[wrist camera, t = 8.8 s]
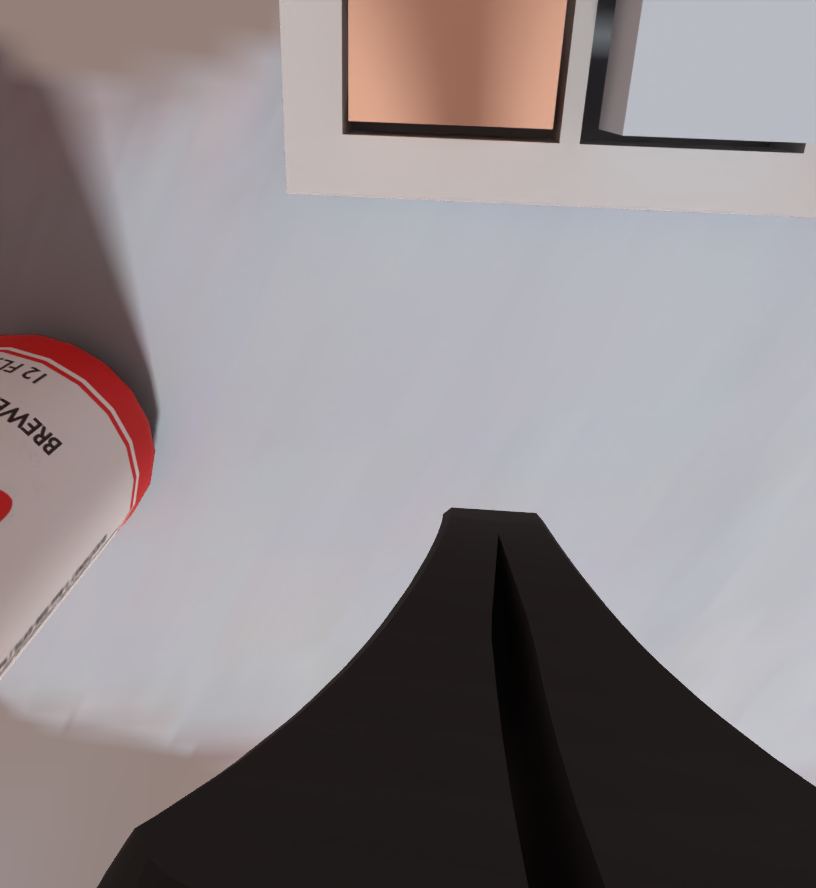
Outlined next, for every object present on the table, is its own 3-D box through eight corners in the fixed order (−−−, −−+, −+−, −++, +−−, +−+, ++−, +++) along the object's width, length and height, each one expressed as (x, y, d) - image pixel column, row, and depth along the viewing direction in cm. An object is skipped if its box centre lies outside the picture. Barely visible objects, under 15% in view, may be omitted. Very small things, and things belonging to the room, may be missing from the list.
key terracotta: (563, -93, 14) (581, -128, 12) (540, 124, 16) (553, 129, 13) (366, -98, 14) (348, -133, 12) (364, 117, 16) (348, 121, 14)
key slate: (856, -105, 12) (939, -146, 10) (796, 137, 14) (856, 145, 12) (631, -110, 13) (665, -152, 10) (598, 129, 14) (622, 135, 12)
